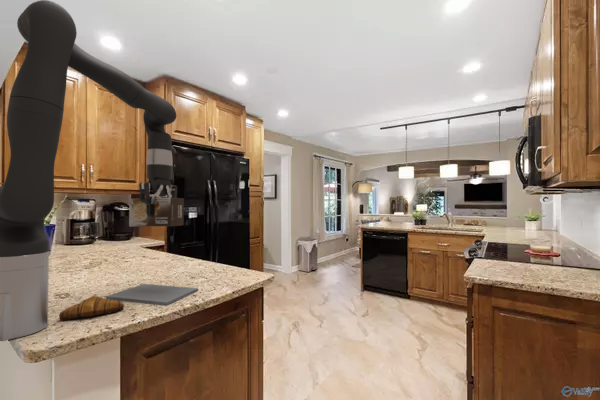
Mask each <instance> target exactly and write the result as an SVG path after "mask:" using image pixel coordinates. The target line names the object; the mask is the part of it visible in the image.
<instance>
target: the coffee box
mask: <svg viewBox="0 0 600 400" xmlns="http://www.w3.org/2000/svg"><path fill="white" fill-rule="evenodd" d="M151 199H152V198H151ZM153 205H155V215H154V217H148V216H147V214H146V204H145V203H144V202H141V201H140V198H130V199H129V209H128V211H129V212H128V213H129V215H128V216H129V218H128V227H130V228H131V227H134V228H135V227H139V228H140V227H179V226H184V222H185V221H184V218H185V217H184V213H185V212H184V211H185V209H184V208H185V198H183V197H181V198H180V197H177V198H173V197H172V198H161V197H158V198H156V201H155V203H154V204H153Z"/></svg>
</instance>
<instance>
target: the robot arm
mask: <svg viewBox="0 0 600 400" xmlns="http://www.w3.org/2000/svg"><path fill="white" fill-rule="evenodd" d="M16 24H17V29H18V32H19V34H20V35H21V37H22V38H23V40H25V41H26V42H27V49H26V53H25V57H24V59H23V62H22V64H21V66H20V67H19V70H18V73H17V74H16V76H15V79H14V81H13V84H12V88H11V91H10V94H9V99H8V106H7V112H6V130H7V137H8V142H9V147H10V149H9V151H10V156H9V157H10V160H9V165H8V169H7V172H6V173H7V174H6V177H5V180H4V183H3V185H1V186H0V342H6V341H9V340H12V339H17V338H21V337H26V336H29V335H33V334H35V333H37V332H40V331H43V330H44V329H47V327H48V326H49V277H50V276H49V268H50V267H49V265H50V264H49V263H50V261H49V260H50V259H49V257H50V253H49V252H50V242H49V238H48V237H47V235H46V232H45V224H44V223H45V221H44V219H45V218H46V217H47V216H48V215H50V213H51V211H52V209H53V207H54V203H55V164H56V163H55V162H56V158H57V153H58V147H59V142H60V136H61V129H62V126H63V119H64V111H65V101H66V90H67V77H68V76H67V75H68V69H69V67H70V68H71V69H73V70H74V71H76V72H78V73H80V74H81V75H83V76H85V77H86V78H88V79H90V80H91V81H93V82H95V83H96V84H98V85H99V86H100V87H102V88H104V89H105V90H107V91H108V92H110V93H111V94H112V95H114V96H115V97H116V98H118V99H120V100H121V101H122V102H124V104H126V105H128V106H129V107H131V108H133V109H141V110H143V116H142V117H143V118H142V119H143V125H144V128H145V132H146V136H147V153H146V179H148V181H147V182H140V183H139V196H140V197H139V199H140V201H141V202H144V203H145V204H146V214H147V216H148V217H154V215H155V205H153V204H154V203H155V201H156V198H178V186H177V185H172V184H171V181H172V180H173V154H172V152H173V151H172V149H173V148H172V147H173V146H172V144H173V140H172V139H173V138H172V136H171V135H170V134H169V133H168V132H166V130H165V126H167V125H170V124H172V123H174V122H175V121H176V119H177V111H176V109H175V107H174V106H173V105H172V104H171V103H170V102H169V101H168V100H166V99H165V98H163V97H161V96H159V95H158V94H156V93H153V92H151V91H150V90H148V89H146V88H145V87H144V86H142V84H140V83H138V81H136V80H135V79H133V77H131V76H130V75H129V74H127V73H125V71H122V70H121V69H119V68H117V67H115V66H113V65H111V64H109V63H107V62H105V61H103V60H100V59H98V58H97V57H95V56H93V55H91V54H90V53H88V52H87V51H85V50H84V49H82V48H81V47H80V46H79V45H77V44H76V43H75V42H76V39H77V35H78V34H77V27H76V24H75V21H74V19H73V17H72V16H71V14H70V13H69V12H68V11H67V10H66V9H65V8H64V7H63V6H62V5H60V4H59V3H56V2H55V1H51V0H37V1H34V2H32V3H30V4H29V5H28V6H27V7H26V8H25V9H24V10H23V12H21V14H20V15H19V16H18V18H17V23H16ZM151 198H152V199H151Z"/></svg>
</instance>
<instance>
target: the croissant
mask: <svg viewBox="0 0 600 400" xmlns="http://www.w3.org/2000/svg"><path fill="white" fill-rule="evenodd" d="M124 308H125V304H124V302H123V301H120V300H110V299H106V298H104V297H102V296H101V297H100V296H95V295H92V296H90V297H88V298H86V299H84V300H82V301H81V302H79V303H76V304H73V305H72V306H70V307H68V308H65V309H64V310H62V311H61V312H59V316H58V317H59V320H61V321H62V320H63V321H65V320H66V321H68V320H76V319H83V318H93V317H98V316H102V315H107V314H113V313H115V312H119V311H122V310H124Z"/></svg>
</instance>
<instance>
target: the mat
mask: <svg viewBox="0 0 600 400" xmlns="http://www.w3.org/2000/svg"><path fill="white" fill-rule="evenodd" d="M198 291H199V288H196V287H185V286H173V285H161V284H160V285H159V284H152V283H151V284H148V283H142V284H139V285H136V286H133V287H130V288H127V289H124V290H121V291H119V292H114V293H112V294H109V295H106V296H105V299H110V300H115V301H119V302H131V303H141V304H152V305H158V306H159V305H161V306H169V305H171V304H173V303H176V302H177V301H180V300H182V299H183V298H185V297H188V296H190V295H192V294H195V293H197V292H198Z"/></svg>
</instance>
